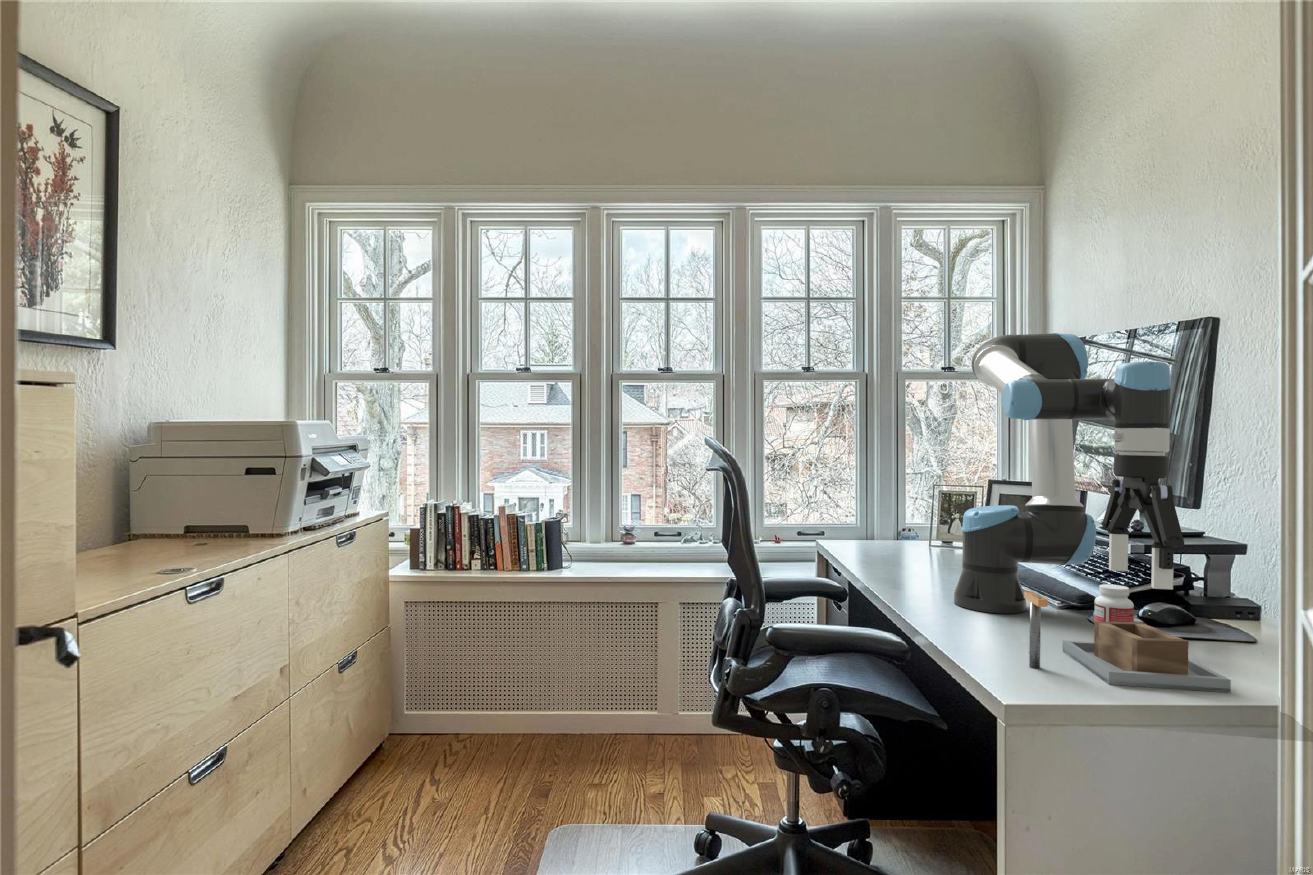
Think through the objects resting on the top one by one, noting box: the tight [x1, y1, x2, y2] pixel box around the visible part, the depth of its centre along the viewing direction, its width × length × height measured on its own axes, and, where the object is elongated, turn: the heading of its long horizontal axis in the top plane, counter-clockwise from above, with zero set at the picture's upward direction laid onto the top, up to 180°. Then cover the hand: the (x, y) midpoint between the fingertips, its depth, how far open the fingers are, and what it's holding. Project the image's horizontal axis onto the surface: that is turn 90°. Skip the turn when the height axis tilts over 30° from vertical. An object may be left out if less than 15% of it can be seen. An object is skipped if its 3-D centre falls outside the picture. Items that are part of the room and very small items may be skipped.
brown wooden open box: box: [1093, 621, 1189, 675], centre depth 112 cm, size 11×9×6 cm
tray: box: [1062, 639, 1232, 693], centre depth 112 cm, size 17×17×2 cm
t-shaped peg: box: [1023, 590, 1048, 669], centre depth 113 cm, size 6×2×12 cm, turn 170°
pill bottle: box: [1094, 583, 1135, 622], centre depth 126 cm, size 6×6×11 cm
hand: (1138, 579), depth 112 cm, fingers open, 13 cm apart
